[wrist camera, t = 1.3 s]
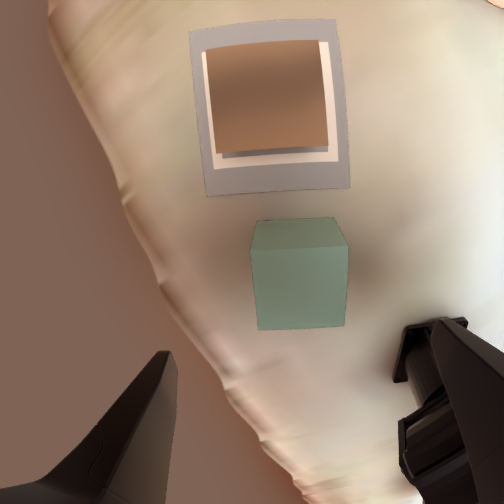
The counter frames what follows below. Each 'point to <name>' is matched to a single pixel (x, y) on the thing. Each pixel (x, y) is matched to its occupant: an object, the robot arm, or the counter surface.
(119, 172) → the counter surface
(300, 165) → the mat
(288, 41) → the walnut block
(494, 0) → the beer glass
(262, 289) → the teal block
